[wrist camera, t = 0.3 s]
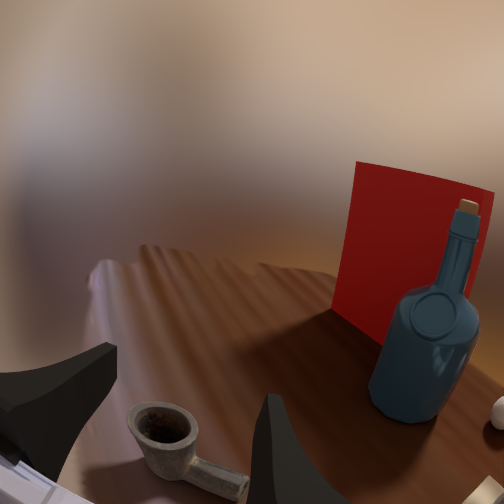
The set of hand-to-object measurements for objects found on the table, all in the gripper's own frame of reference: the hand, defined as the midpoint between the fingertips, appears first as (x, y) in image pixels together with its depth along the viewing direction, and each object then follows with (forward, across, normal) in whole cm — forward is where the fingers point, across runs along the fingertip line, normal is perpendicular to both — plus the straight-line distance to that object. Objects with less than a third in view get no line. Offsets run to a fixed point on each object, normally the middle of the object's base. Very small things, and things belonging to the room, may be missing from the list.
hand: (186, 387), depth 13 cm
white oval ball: (+16, -45, +14) cm, 50 cm away
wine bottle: (+24, -28, +16) cm, 41 cm away
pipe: (+8, 0, +21) cm, 23 cm away
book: (+43, -30, +15) cm, 55 cm away
